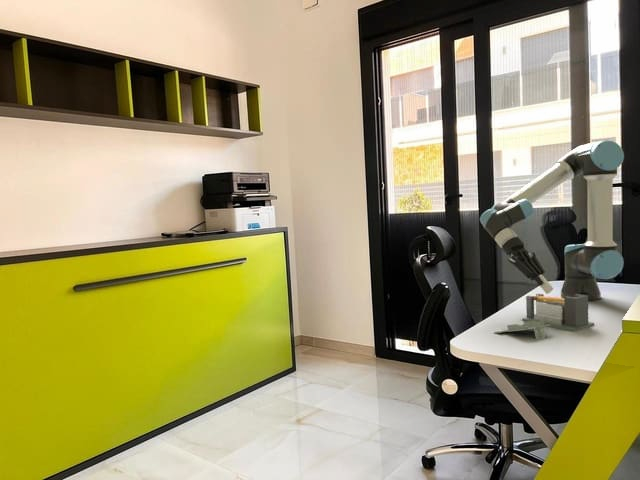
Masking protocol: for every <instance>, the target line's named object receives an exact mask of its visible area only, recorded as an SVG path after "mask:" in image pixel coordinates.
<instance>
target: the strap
mask: <svg viewBox="0 0 640 480" xmlns="http://www.w3.org/2000/svg"><path fill="white" fill-rule="evenodd" d="M536 300H544V301H557V302H564V298H563V297H556V296H545V295H544V296H541V295H539V296H536V295H534V301H536Z"/></svg>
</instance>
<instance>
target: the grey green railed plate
mask: <svg viewBox="0 0 640 480" xmlns="http://www.w3.org/2000/svg"><path fill="white" fill-rule="evenodd" d="M521 320H522V321H523V322H528V321H536V322H539V321H538V320H535V314H534V318H529V317H527V316H526V317H522V318H521ZM549 324H551V325H549ZM545 325H548V326H547V327H552V328H555V329H559V330H564V331H569V332H575V331H579V330H583V329H586V328H589V327H593V326H595V322H591V321H588V324H586V325H583V326H579V327H572V326H567V325H557V324H552V323H548V322H545Z"/></svg>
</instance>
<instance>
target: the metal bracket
mask: <svg viewBox="0 0 640 480" xmlns="http://www.w3.org/2000/svg"><path fill="white" fill-rule="evenodd" d="M549 325H551V324H549ZM506 327H507V329H504V330H499V331H494V334H500V333H506V332H508V333H509V332H519V331H527V330H532V329H533V332H534V336H535V340H540V339H543V338H546V336H545V331H544V328H543V327H549V326H548V325H545V321H544V320H540V321H539V322H536V321H528V322H527V321H523V324H518V323H514V324H513V323H512V324H507V325H506Z"/></svg>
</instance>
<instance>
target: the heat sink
mask: <svg viewBox="0 0 640 480" xmlns="http://www.w3.org/2000/svg"><path fill="white" fill-rule="evenodd" d="M539 295H541V296H545V295H544V293H535V295H534V296H539ZM534 296H533V295H527V296H525V297H526V298H525V299H526V301H525V302H526V303H525V305H526V306H525V307H526V317H529V318H534V315H535V320H538V321H540V320H544V321H545V322H548V323H552V324H557V325H565V306H564V302H557V301H546V300H534Z"/></svg>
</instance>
